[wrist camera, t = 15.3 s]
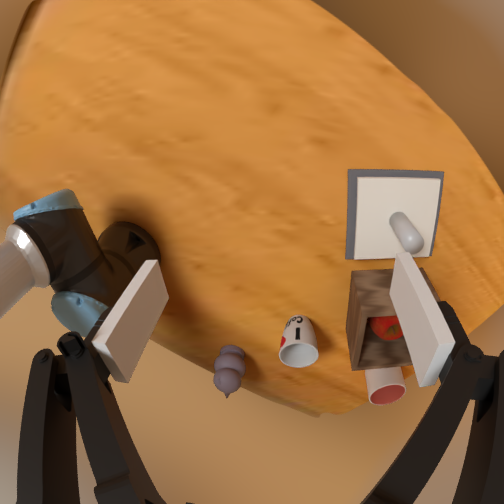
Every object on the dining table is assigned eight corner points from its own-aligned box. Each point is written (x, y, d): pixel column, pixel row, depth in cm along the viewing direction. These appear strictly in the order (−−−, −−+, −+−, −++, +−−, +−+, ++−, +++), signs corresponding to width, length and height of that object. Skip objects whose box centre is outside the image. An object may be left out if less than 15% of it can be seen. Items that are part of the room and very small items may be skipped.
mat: (345, 258, 59) (345, 259, 59) (347, 169, 50) (348, 169, 50) (430, 255, 57) (431, 256, 56) (443, 171, 48) (444, 172, 47)
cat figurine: (252, 361, 78) (246, 398, 68) (225, 364, 80) (216, 400, 70) (241, 340, 74) (234, 378, 64) (212, 344, 76) (202, 381, 66)
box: (345, 327, 69) (351, 370, 58) (351, 270, 61) (362, 313, 50) (408, 323, 66) (422, 363, 55) (422, 267, 58) (443, 306, 47)
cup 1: (302, 304, 66) (303, 336, 58) (323, 325, 69) (325, 357, 60) (274, 320, 70) (271, 353, 61) (295, 339, 72) (294, 372, 64)
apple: (360, 311, 66) (367, 347, 57) (371, 281, 62) (382, 316, 52) (393, 315, 65) (404, 349, 56) (406, 286, 61) (421, 319, 52)
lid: (352, 254, 58) (362, 287, 49) (356, 175, 51) (370, 196, 41) (425, 252, 56) (445, 282, 47) (436, 176, 48) (463, 198, 39)
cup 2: (357, 371, 77) (361, 401, 68) (380, 350, 72) (386, 380, 63) (383, 379, 78) (388, 407, 69) (406, 359, 73) (413, 388, 64)
